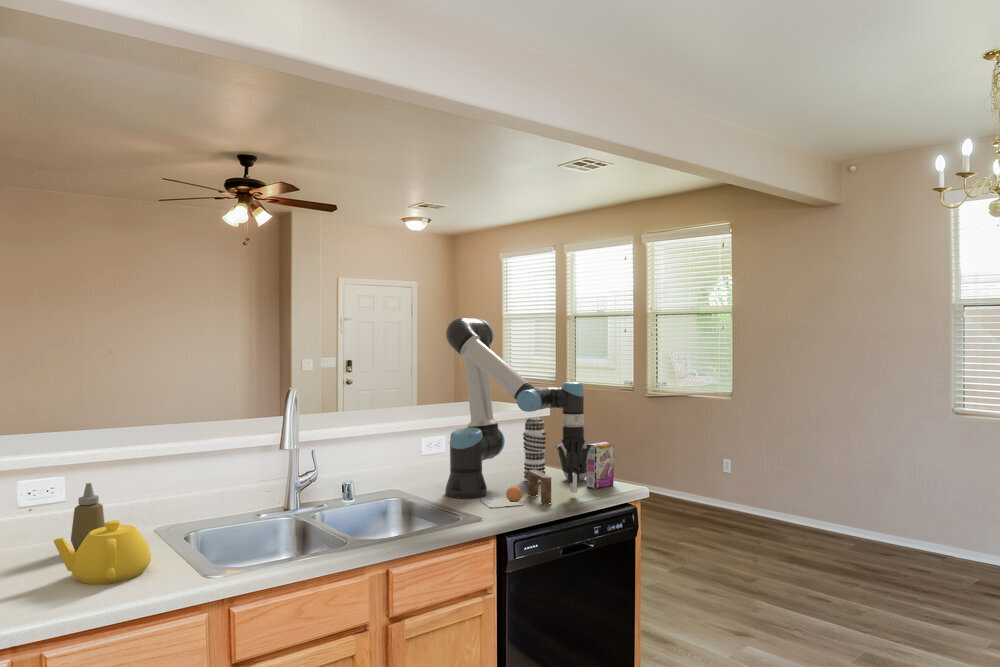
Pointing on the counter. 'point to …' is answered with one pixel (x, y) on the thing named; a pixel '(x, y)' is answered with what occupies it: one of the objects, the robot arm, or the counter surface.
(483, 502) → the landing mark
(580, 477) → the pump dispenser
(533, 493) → the bridge
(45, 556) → the counter surface
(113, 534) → the teapot
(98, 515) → the squeeze bottle
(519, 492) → the ball
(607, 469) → the candy bar box
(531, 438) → the decorative candle
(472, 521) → the counter surface
